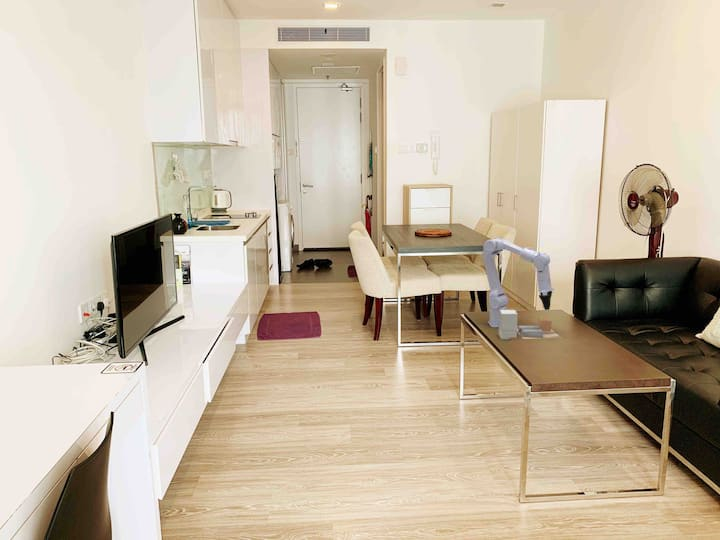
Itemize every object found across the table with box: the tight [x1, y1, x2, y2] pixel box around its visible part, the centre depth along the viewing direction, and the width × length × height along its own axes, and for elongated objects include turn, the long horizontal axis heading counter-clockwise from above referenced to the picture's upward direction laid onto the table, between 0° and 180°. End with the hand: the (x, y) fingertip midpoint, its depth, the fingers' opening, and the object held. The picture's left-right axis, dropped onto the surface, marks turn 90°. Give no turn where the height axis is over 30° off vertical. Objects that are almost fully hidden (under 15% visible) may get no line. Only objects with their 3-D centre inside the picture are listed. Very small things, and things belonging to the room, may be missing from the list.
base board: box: [517, 325, 563, 340], centre depth 265 cm, size 18×18×4 cm
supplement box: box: [498, 309, 519, 340], centre depth 260 cm, size 7×7×13 cm
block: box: [537, 317, 552, 331], centre depth 269 cm, size 5×5×5 cm
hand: (547, 308), depth 261 cm, fingers open, 7 cm apart
